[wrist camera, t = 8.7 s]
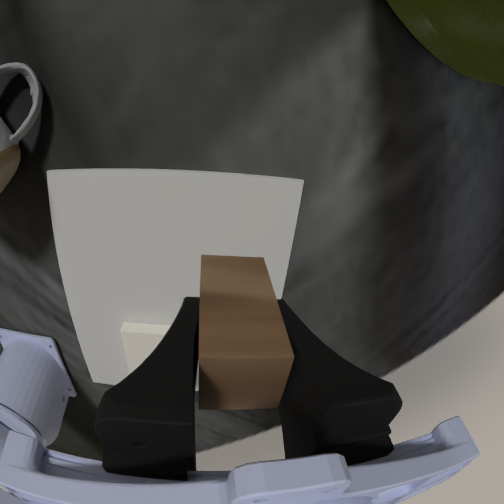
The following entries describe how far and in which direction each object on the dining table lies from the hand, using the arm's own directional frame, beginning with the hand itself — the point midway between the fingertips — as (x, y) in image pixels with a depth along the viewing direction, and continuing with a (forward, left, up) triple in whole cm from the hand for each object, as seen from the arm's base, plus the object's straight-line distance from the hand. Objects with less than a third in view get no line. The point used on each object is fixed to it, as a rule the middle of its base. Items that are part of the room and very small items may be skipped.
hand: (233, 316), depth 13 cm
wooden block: (0, 0, -2) cm, 2 cm away
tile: (-9, +5, -8) cm, 13 cm away
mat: (-7, +4, -9) cm, 12 cm away
